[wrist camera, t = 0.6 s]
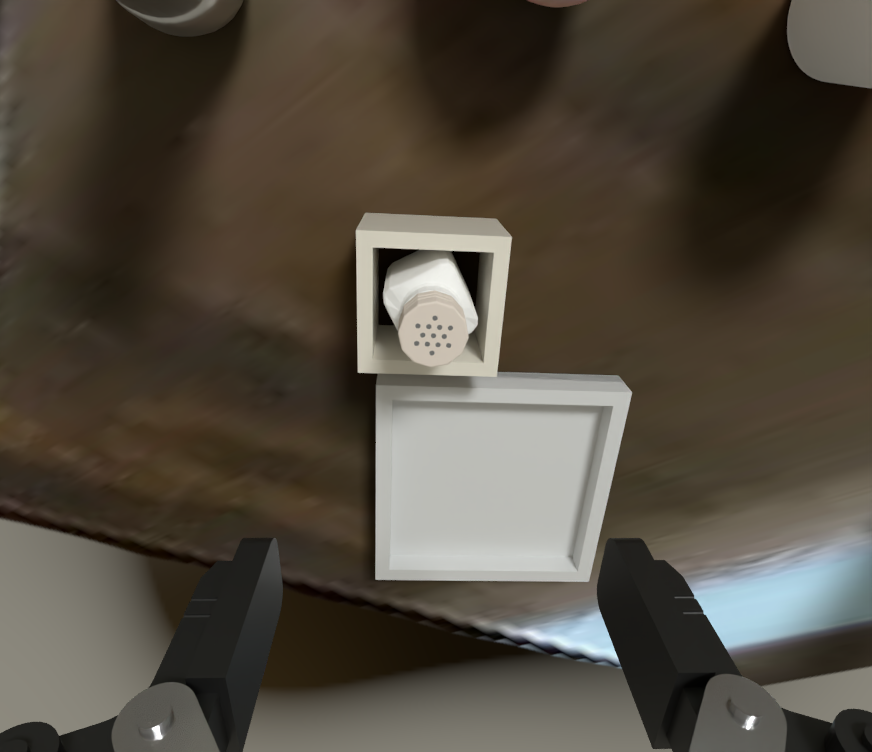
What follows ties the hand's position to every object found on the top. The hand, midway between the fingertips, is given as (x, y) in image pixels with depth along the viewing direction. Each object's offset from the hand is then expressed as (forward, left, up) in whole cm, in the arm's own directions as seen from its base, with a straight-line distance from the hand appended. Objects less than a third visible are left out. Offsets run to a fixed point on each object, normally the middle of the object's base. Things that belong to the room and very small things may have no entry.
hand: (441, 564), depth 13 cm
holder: (0, -1, -22) cm, 22 cm away
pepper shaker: (0, -1, -22) cm, 23 cm away
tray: (-5, +13, -22) cm, 26 cm away
